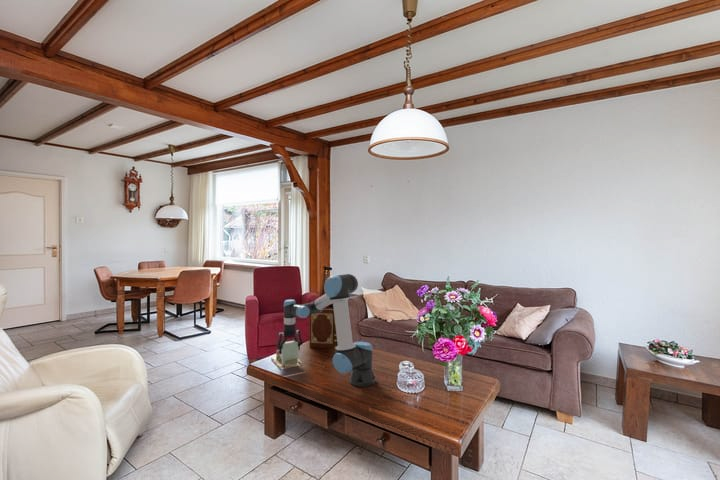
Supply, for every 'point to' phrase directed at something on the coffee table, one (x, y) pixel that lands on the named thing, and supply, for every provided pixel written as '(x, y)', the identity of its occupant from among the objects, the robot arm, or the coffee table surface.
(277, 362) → the rack
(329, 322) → the decorative book
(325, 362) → the coffee table surface
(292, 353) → the sage board
